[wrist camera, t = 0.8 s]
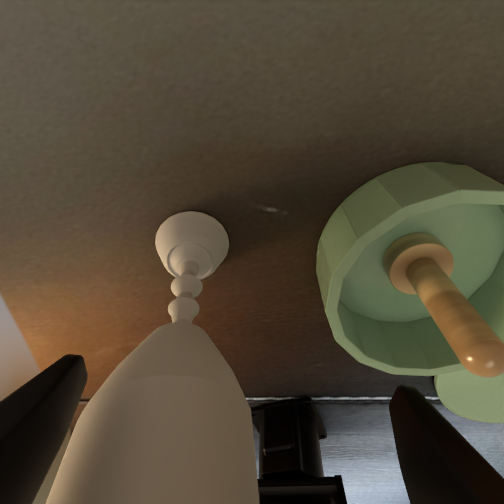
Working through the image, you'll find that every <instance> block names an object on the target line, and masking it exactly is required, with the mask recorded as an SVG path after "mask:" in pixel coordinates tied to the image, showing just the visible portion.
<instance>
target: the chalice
mask: <svg viewBox="0 0 504 504" xmlns="http://www.w3.org/2000/svg"><path fill="white" fill-rule="evenodd" d="M155 245H156V249H157V252H158V255H159V256H160V258H161V261H162V262H163V264H164V266H165V268H166V269H167V271H168V272H169V273H171V274H172V275H173V276H175V277H177V278H175V279H174V280H173V282H172V283H171V290H172V292H173V294H174V295H175V296H177V298H176V299H175V300H173V301H172V302H171V303H170V304H169V306H168V312H169V314H170V315H171V317H172V323H168V324H165V325H163V326H160V327H159V328H157V329H156V330H155V331H154V332H152V333H151V334H150V335H149V336H148V337H147V338H146V339H145V340H144V341H143V342H142V343H141V344H140V345H139V346H138V347H137V348H135V349H134V350H133V351H132V352H131V353H130V354H129V355H128V356H127V357H126V358H125V359H124V360H123V361H122V362H121V363H120V364H119V365H118V366H117V367H116V368H115V370H114V371H113V372H112V373H111V375H110V376H109V377H108V378H107V380H106V381H105V382H104V383H103V385H102V386H101V387H100V389H99V390H98V391H97V392H96V394H95V395H94V396H93V397H92V399H91V400H90V401H89V402H88V404H87V405H86V407H85V409H84V410H83V412H82V414H81V415H80V417H79V419H78V421H77V423H76V426H75V428H74V431H73V434H72V436H71V439H70V442H69V444H68V447H67V449H66V452H65V455H64V457H63V460H62V462H61V465H60V468H59V470H58V473H57V475H56V478H55V481H54V483H53V486H52V489H51V491H50V494H49V496H48V499H47V501H46V504H259V492H258V481H257V470H256V459H255V448H254V436H253V425H252V416H251V409H250V407H249V405H248V402H247V400H246V398H245V396H244V394H243V392H242V390H241V388H240V385H239V383H238V381H237V379H236V377H235V375H234V373H233V371H232V369H231V368H230V366H229V365H228V364H227V362H226V361H225V359H224V358H223V356H222V355H221V353H220V352H219V351H218V349H217V348H216V346H215V345H214V343H213V342H212V340H211V339H210V338H209V336H208V335H207V333H206V332H205V331H204V330H203V329H202V328H200V327H199V326H197V325H194V324H191V323H192V321H193V318H194V317H195V316H197V314H198V313H199V309H200V308H199V305H198V303H197V302H196V301H195V300H194V297H197V296H198V295H199V294H200V293H201V291H202V288H203V286H202V282H201V281H200V280H201V279H204V278H206V277H208V276H209V275H211V274H212V273H213V272H214V271H215V269H216V268H217V267H218V266H219V265H220V264H221V263H222V262H223V260H224V258H225V257H226V255H227V253H228V248H229V240H228V234H227V233H226V231H225V229H224V227H223V226H222V225H221V224H220V223H219V222H218V221H217V220H216V219H215V218H213V217H211V216H209V215H207V214H204V213H200V212H194V211H189V212H181V213H178V214H176V215H173V216H171V217H169V218H168V219H167V220H166V221H165V222H164V223H162V224H161V226H160V228H159V230H158V232H157V234H156V242H155Z"/></svg>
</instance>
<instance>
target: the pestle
mask: <svg viewBox="0 0 504 504" xmlns="http://www.w3.org/2000/svg"><path fill="white" fill-rule="evenodd" d="M453 267H454V259H453V256H452V254H451V252H450V251H449V250H448V249H447V248H446V247H445V246H444V245H443V244H442V242H441V241H440V240H439V239H438V238H436V237H435V236H433V235H431V234H427V233H412V234H408V235H405V236H403V237H401V238H399V239H397V240H396V241H395V242H393V243H392V244H391V245H390V246H389V248H388V249H387V250H386V252H385V255H384V258H383V268H384V270H385V272H386V274H387V276H388V278H389V280H390V281H391V283H392V285H393V286H394V287H395V288H396V289H397V290H399V291H401V292H403V293H407V294H417V295H418V296H419V298H420V299H421V301H422V302H423V304H424V306H425V307H426V309H427V310H428V312H429V313H430V315H431V317H432V318H433V320H434V321H435V323H436V324H437V326H438V328H439V329H440V331H441V332H442V334H443V335H444V337H445V339H446V340H447V342H448V343H449V345H450V347H451V348H452V350H453V351H454V353H455V354H456V356H457V358H458V359H459V361H460V362H461V364H462V365H463V366H464V367H465V368H466V369H467V370H468V371H469V372H471V373H472V374H474V375H477V376H480V377H486V378H491V377H496V376H499V375H501V374H502V373H504V343H503V342H502V341H501V340H500V338H499V337H498V336H497V335H496V333H495V332H494V331H493V330H492V329H491V327H490V326H489V325H488V324H487V323H486V321H485V320H484V319H483V318H482V317H481V315H480V314H479V313H478V312H477V311H476V309H475V308H474V307H473V306H472V305H471V303H470V302H469V301H468V300H467V299H466V297H465V296H464V295H463V294H462V292H461V291H460V290H459V289H458V288H457V286H456V285H455V284H454V283H453V282H452V280H451V279H450V278H449V277H450V275H451V273H452V271H453Z"/></svg>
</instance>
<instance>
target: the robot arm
mask: <svg viewBox="0 0 504 504" xmlns="http://www.w3.org/2000/svg"><path fill="white" fill-rule="evenodd" d="M86 382H87V371H86V367H85V362H84V359H83V357H82V356H81V355H73V354H68V355H65V356H63V357H62V358H61V359H59V360H58V361H56V362H55V363H54V364H52V365H51V366H49V367H48V368H47V369H45V370H44V371H42V372H41V373H40V374H38V375H37V376H35V377H34V378H33V379H31V380H30V381H28V382H27V383H26V384H24V385H23V386H21V387H20V388H19V389H17V390H16V391H15V392H13V393H12V394H10V395H9V396H7V397H6V398H5V399H3V400H2V401H0V504H32V503H33V501H34V499H35V497H36V495H37V493H38V491H39V489H40V487H41V485H42V483H43V481H44V479H45V477H46V475H47V473H48V471H49V469H50V467H51V465H52V463H53V461H54V459H55V457H56V455H57V453H58V451H59V449H60V447H61V445H62V443H63V441H64V439H65V437H66V434H67V432H68V429H69V427H70V424H71V421H72V419H73V416H74V414H75V411H76V408H77V406H78V403H79V401H80V398H81V395H82V393H83V390H84V388H85V385H86ZM389 411H390V417H391V422H392V427H393V433H394V438H395V444H396V449H397V454H398V459H399V464H400V469H401V472H402V476H403V480H404V483H405V486H406V490H407V493H408V497H409V500H410V504H504V478H503V477H502V476H501V475H500V474H499V473H498V472H497V471H496V470H495V469H494V468H493V467H492V466H491V465H490V464H489V463H488V462H487V461H486V460H485V459H484V458H483V457H482V456H481V455H480V454H479V453H478V452H477V451H476V450H475V449H474V447H473V446H472V445H471V444H470V443H469V442H468V441H467V440H466V439H465V438H464V437H463V436H462V435H461V434H460V433H459V432H458V431H457V430H456V429H455V428H454V427H453V426H452V425H451V424H450V423H449V422H448V421H447V420H446V419H445V418H444V417H443V416H442V415H441V414H440V413H439V412H438V411H437V409H436V408H435V407H434V406H433V405H432V404H431V403H430V402H429V401H428V400H427V399H426V398H425V397H424V396H423V395H422V394H421V393H420V392H419V391H418V390H417V389H416V388H415V387H413V386H405V385H400V386H398V387H397V389H396V391H395V393H394V395H393V397H392V399H391V401H390V404H389ZM251 416H252V423H253V424H254V426H255V428H256V429H257V431H258V432H259V434H260V442H259V479H257V481H258V492H259V504H347V501H346V496H345V491H344V487H343V482H342V477H341V475H335V477H324V473H323V465H322V458H321V451H320V444H319V440H320V439H325V438H326V437H327V433H326V430H325V428H324V426H323V423H322V421H321V419H320V417H319V414H318V412H317V410H316V408H315V406H314V403H313V401H312V399H311V398H308V397H305V398H300V399H295V400H290V401H285V402H280V403H275V404H270V405H265V406H260V407H255V408H251Z"/></svg>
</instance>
